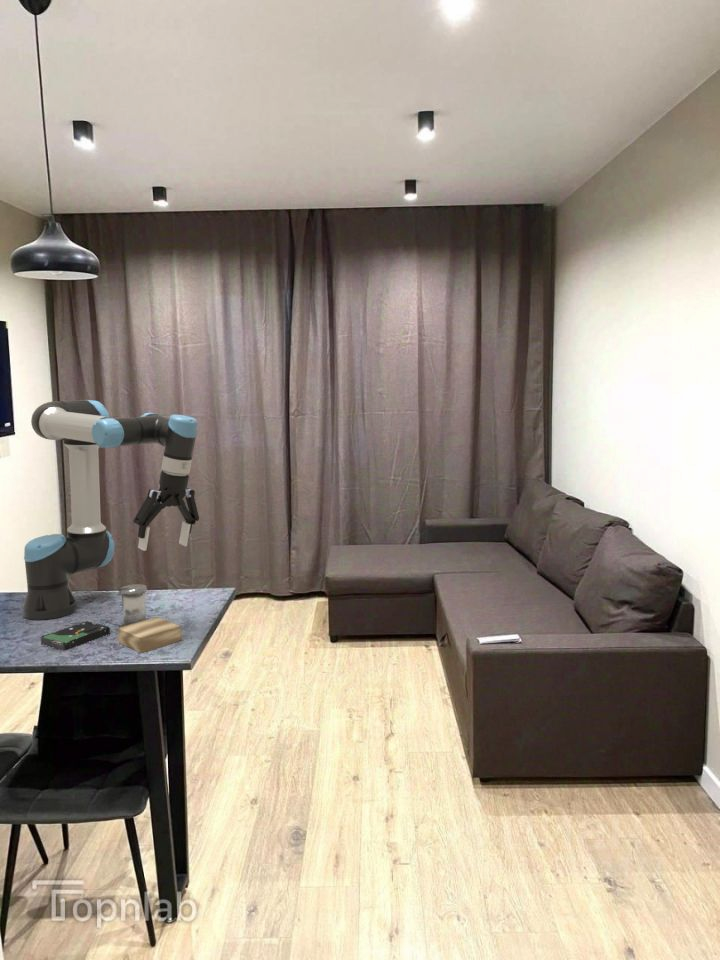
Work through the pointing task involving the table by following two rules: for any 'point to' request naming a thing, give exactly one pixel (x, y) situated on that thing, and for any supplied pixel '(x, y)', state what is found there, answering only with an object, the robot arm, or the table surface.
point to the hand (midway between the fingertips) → (162, 547)
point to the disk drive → (75, 635)
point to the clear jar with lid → (133, 603)
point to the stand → (149, 634)
